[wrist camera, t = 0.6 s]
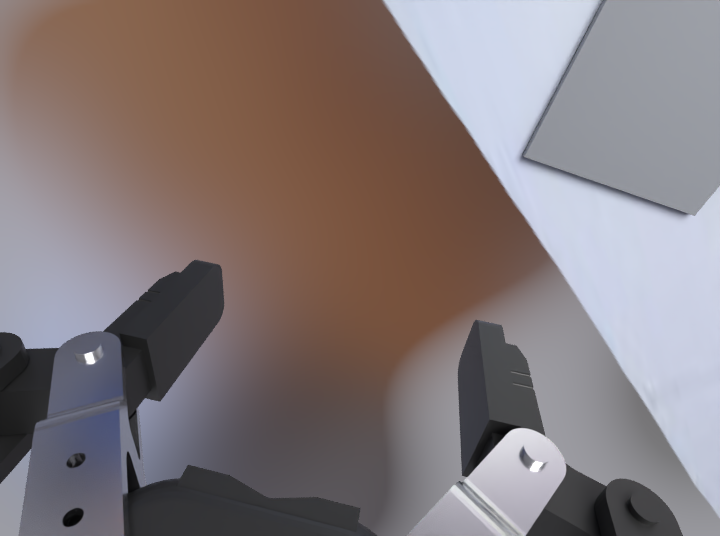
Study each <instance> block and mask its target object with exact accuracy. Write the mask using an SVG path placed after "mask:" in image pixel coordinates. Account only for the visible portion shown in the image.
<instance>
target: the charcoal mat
mask: <svg viewBox="0 0 720 536" xmlns="http://www.w3.org/2000/svg"><path fill="white" fill-rule="evenodd" d="M523 156H524V157H526V158H528V159H531V160H534V161H537V162H540V163H543V164H546V165H549V166H552V167H555V168H557V169H560V170H563V171H566V172H569V173H572V174H575V175H578V176H581V177H584V178H586V179H589V180H592V181H595V182H598V183H601V184H604V185H607V186H610V187H613V188H615V189H618V190H621V191H624V192H627V193H630V194H633V195H636V196H639V197H642V198H644V199H647V200H650V201H653V202H656V203H659V204H662V205H665V206H668V207H671V208H673V209H676V210H679V211H682V212H685V213H688V214H691V215H694V216H695V215H696V213H697V212H698V211H699V210H700V209H701V207H702V206H703V205H704V204H705V203H706V201H707V200H708V199H709V198H710V197H711V195H712V194H713V193H714V192H715V191H716V190H717V188H718V187H719V186H720V0H603V1H602V3H601V5H600V7H599V9H598V11H597V13H596V15H595V17H594V19H593V20H592V22H591V24H590V26H589V28H588V30H587V32H586V34H585V36H584V38H583V40H582V42H581V43H580V45H579V47H578V49H577V51H576V53H575V55H574V57H573V59H572V61H571V63H570V65H569V67H568V68H567V70H566V72H565V74H564V76H563V78H562V80H561V82H560V84H559V86H558V88H557V90H556V91H555V93H554V95H553V97H552V99H551V101H550V103H549V105H548V107H547V109H546V111H545V113H544V114H543V116H542V118H541V120H540V122H539V124H538V126H537V128H536V130H535V132H534V134H533V136H532V137H531V139H530V141H529V143H528V145H527V147H526V149H525V151H524V153H523Z"/></svg>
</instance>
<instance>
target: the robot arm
mask: <svg viewBox="0 0 720 536" xmlns="http://www.w3.org/2000/svg"><path fill="white" fill-rule="evenodd" d="M223 309H224V295H223V280H222V269H221V267H220V265H218V264H213V263H209V262H204V261H199V260H194V261H192V262H191V263H190V264H189V265H188V266H187V267H186V268H185V269H184V270H183V271H182V272H181V273H179V272H174V273H172V274H169V275H167V276H165V277H163V278H161V279H159V280H158V281H157V282H156V283H155V284H154V285H153V286H152V287H151V288H150V289H149V290H148V292H145V293H144V294H143V295H142V296H141V297H140V298H139V300H138V301H136V302H134V303H133V304H132V305H131V306H130V307H129V308H128V309H127V310H126V311H125V312H124V313H123V314H121V315H120V316H119V317H118V318H117V319H116V320H115V321H114V322H113V323H112V324H111V325H110V326H109V327H107V328H106V329H105V330H104V331H103V332H101V331H100V332H89V333H85V334H81V335H78V336H76V337H74V338H72V339H71V340H68V341H67V342H66V343H64V344H63V345H62V346H61V347H60V348H46V349H45V348H44V349H25V347H24V344H23V342H22V340H21V338H20V337H18V336H17V335H15V334H12V333H5V332H3V333H2V332H1V333H0V483H1V482H2V481H3V480H4V479H5V478H6V477H7V476H8V474H9V473H10V472H11V471H12V470H13V469H14V468H15V466H16V465H17V464H18V463H19V462H20V461H21V460H22V458H23V457H24V456H25V455H26V454H27V453H28V452H29V450H30V449H31V455H30V462H29V469H28V476H27V482H26V489H25V496H24V503H23V510H22V518H21V523H20V530H19V536H377V535H376V534H375V533H373V532H372V531H371V530H370V529H368V528H367V527H365V526H364V525H362V524H360V523H359V522H358V519H359V513H360V508H357V507H353V506H349V505H345V504H341V503H338V502H333V501H330V500H326V499H321V498H318V497H312V498H311V497H309V498H268V497H265V496H263V495H262V494H260V493H258V492H257V491H255V490H253V489H252V488H250V487H248V486H247V485H245V484H243V483H242V482H240V481H238V480H236V479H235V478H233V477H231V476H230V475H226V474H222V473H218V472H215V471H211V470H206V469H203V468H198V467H195V466H191V465H188V466H187V468H186V469H185V471H184V473H183V475H182V477H181V478H179V479H170V480H163V481H160V482H156V483H152V484H150V485H146V480H145V474H144V467H143V455H142V443H141V431H140V418H139V410H138V406H139V405H140V404H141V402H142V401H143V400H144V398H147V399H151V400H156V401H161V400H162V398H163V397H164V396H165V394H166V393H167V392H168V390H169V389H170V387H171V386H172V385H173V383H174V382H175V381H176V379H177V378H178V377H179V375H180V374H181V372H182V371H183V370H184V368H185V367H186V366H187V364H188V363H189V362H190V360H191V359H192V358H193V356H194V355H195V353H196V352H197V351H198V349H199V348H200V347H201V345H202V344H203V343H204V341H205V340H206V338H207V337H208V335H209V334H210V333H211V332H212V330H213V329H214V328H215V326H216V325H217V323H218V322H219V320H220V318H221V316H222V313H223ZM458 391H459V415H460V435H461V461H462V476H465V477H467V478H466V480H464V482H462V483H461V482H460V481H459V482H457V483H456V484H455V485H453V487H452V488H451V489H450V490H449V491H448V492H447V493H446V494H445V495H444V496H443V497H442V498H441V499H440V501H438V503H437V504H436V505H435V506H434V507H433V508H432V509H431V510H430V511H429V512H428V513H427V514H426V515H425V516H424V517H423V519H422V520H421V521H420V522H419V523H418V524H417V525H416V526H415V527H414V528H413V529H412V530H411V531H410V533H409V534H408V535H407V536H683V535H682V533H681V530H680V528H679V525H678V523H677V521H676V518H675V516H674V515H673V513H672V512H671V510H670V509H669V507H668V506H667V505H666V504H665V503H664V502H663V500H662V499H660V497H658V496H657V495H656V494H655V493H654V492H652V491H651V490H650V489H648V488H647V487H645V486H643V485H641V484H640V483H637V482H635V481H632V480H628V479H616V480H613V481H611V482H610V483H609V484H608V485H607V486H605V485H603V484H601V483H599V482H597V481H595V480H593V479H591V478H589V477H587V476H585V475H583V474H582V473H580V472H578V471H576V470H574V469H573V468H571V467H570V466H568V465H567V464H566V463H565V460H564V457H563V455H562V454H561V452H560V450H559V449H558V448H557V446H556V445H555V444H554V443H553V442H552V441H551V440H549V439H548V438H547V437H546V436H545V432H544V429H543V425H542V420H541V416H540V412H539V408H538V404H537V400H536V396H535V392H534V390H533V384H532V379H531V377H530V371H529V367H528V363H527V360H526V358H525V357H524V356H523V354H522V353H521V351H520V350H519V349H518V347H517V346H515V345H510V344H506V343H505V338H504V333H503V328H502V326H501V325H498V324H494V323H489V322H484V321H479V320H475V322H474V323H473V326H472V328H471V331H470V334H469V336H468V339H467V341H466V344H465V347H464V349H463V352H462V355H461V358H460V362H459V368H458Z"/></svg>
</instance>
